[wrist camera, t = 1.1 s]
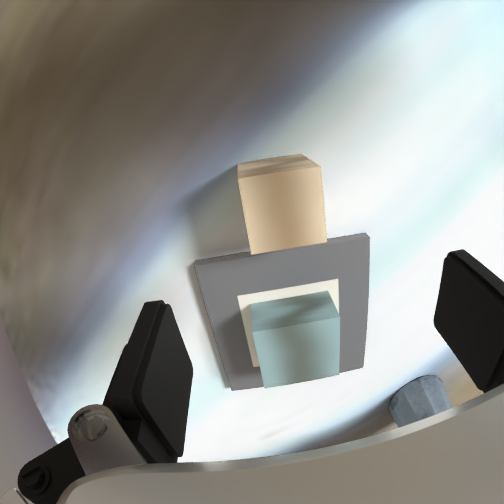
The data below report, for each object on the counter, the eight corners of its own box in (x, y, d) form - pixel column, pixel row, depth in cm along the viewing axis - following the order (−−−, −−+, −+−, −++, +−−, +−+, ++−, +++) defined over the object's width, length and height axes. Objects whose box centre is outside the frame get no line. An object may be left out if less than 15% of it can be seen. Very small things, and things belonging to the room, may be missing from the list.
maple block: (301, 153, 23) (320, 166, 18) (308, 213, 26) (327, 242, 20) (237, 163, 24) (237, 178, 18) (248, 223, 26) (251, 254, 20)
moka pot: (417, 357, 34) (485, 485, 16) (459, 385, 38) (512, 479, 20) (363, 402, 37) (406, 530, 19) (416, 421, 41) (455, 516, 23)
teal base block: (327, 290, 27) (340, 316, 24) (329, 347, 30) (339, 374, 27) (250, 303, 28) (252, 332, 24) (261, 359, 31) (264, 388, 27)
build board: (365, 232, 26) (369, 237, 25) (360, 361, 33) (363, 367, 32) (195, 260, 27) (194, 266, 26) (231, 384, 34) (231, 391, 33)
